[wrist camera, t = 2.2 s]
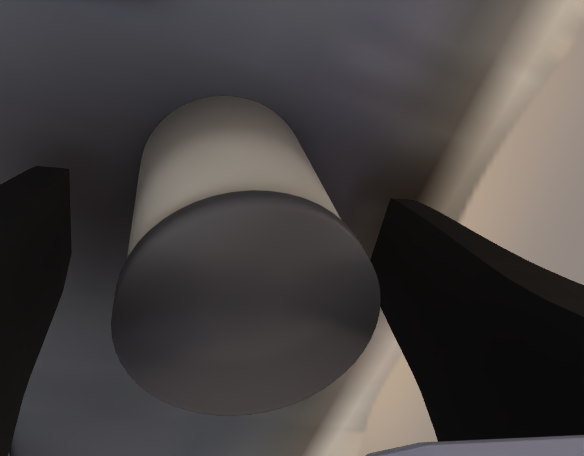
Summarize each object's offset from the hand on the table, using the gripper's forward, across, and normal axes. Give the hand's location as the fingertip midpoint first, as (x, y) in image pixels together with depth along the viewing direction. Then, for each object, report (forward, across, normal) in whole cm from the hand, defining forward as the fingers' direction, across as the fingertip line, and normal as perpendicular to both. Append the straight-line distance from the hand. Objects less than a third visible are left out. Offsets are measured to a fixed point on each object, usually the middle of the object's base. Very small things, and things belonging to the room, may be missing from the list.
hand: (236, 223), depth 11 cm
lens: (+3, 0, 0) cm, 3 cm away
